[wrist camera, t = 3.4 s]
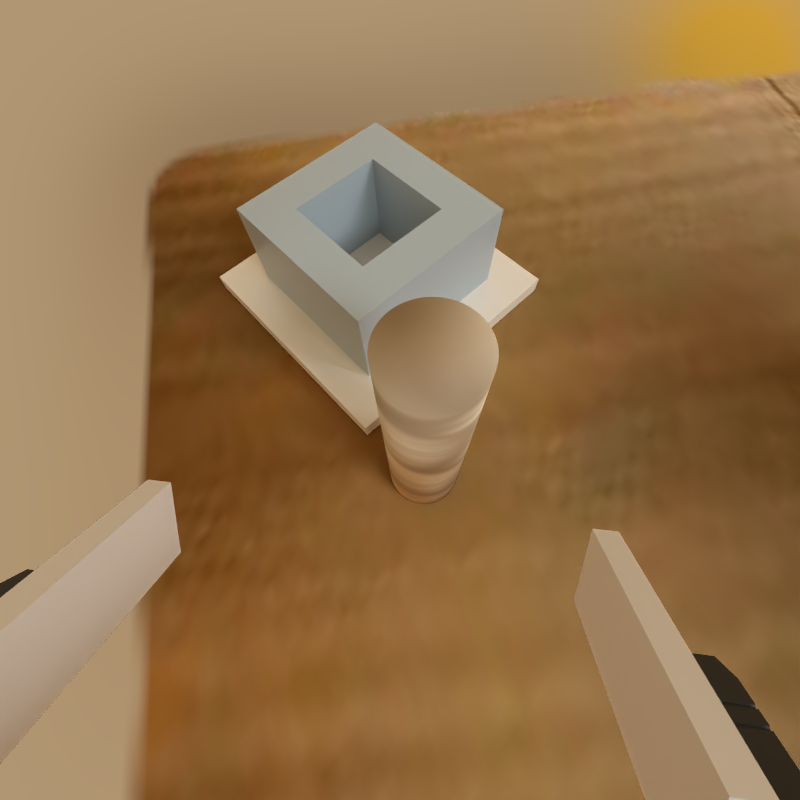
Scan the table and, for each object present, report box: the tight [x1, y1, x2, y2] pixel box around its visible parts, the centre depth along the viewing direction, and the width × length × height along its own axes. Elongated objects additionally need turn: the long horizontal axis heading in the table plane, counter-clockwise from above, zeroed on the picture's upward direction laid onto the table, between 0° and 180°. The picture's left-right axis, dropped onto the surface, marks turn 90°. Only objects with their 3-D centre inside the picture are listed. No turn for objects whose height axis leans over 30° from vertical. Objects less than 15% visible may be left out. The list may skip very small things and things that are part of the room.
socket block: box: [220, 122, 539, 435], centre depth 28 cm, size 16×16×7 cm
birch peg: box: [367, 297, 499, 504], centre depth 20 cm, size 4×4×14 cm
